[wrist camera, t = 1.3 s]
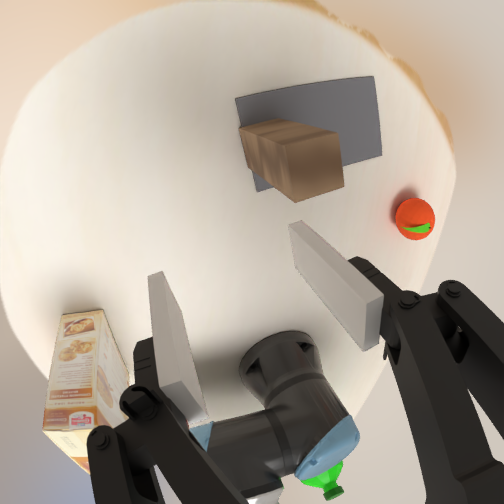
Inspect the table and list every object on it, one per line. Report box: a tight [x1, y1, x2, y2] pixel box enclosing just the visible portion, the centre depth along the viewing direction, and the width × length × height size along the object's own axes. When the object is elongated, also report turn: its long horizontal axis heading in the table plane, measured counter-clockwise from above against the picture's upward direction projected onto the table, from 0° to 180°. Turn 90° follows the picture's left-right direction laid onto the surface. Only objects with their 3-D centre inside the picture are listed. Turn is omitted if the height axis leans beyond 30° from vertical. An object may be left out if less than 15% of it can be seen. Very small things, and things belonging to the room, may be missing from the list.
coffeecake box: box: [42, 310, 129, 474], centre depth 34 cm, size 15×7×20 cm, turn 0°
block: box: [239, 118, 344, 203], centre depth 30 cm, size 5×5×13 cm
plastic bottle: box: [300, 461, 344, 501], centre depth 59 cm, size 10×10×25 cm
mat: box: [235, 76, 382, 192], centre depth 37 cm, size 12×20×1 cm, turn 102°
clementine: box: [396, 198, 435, 240], centre depth 46 cm, size 8×7×7 cm
